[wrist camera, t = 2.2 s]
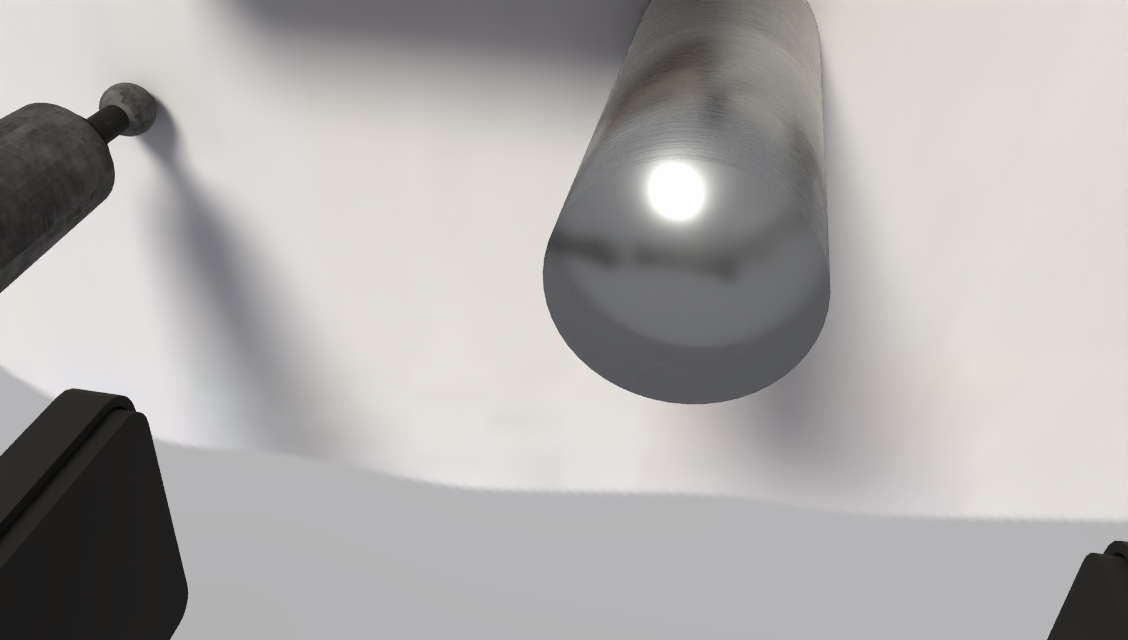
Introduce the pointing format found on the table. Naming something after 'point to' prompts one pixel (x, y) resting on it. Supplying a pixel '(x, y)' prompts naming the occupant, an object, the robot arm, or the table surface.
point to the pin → (700, 207)
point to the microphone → (59, 170)
